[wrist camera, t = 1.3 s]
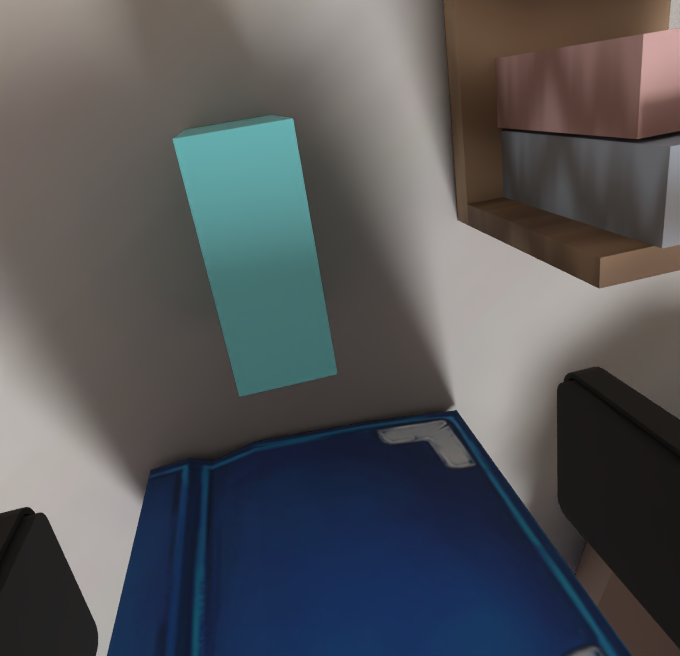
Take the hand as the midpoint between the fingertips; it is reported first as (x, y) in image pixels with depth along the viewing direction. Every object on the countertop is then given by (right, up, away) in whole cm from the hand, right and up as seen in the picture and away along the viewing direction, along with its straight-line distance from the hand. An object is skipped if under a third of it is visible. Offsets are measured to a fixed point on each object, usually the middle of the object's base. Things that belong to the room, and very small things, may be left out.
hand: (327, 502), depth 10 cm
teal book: (-5, +9, +21) cm, 23 cm away
